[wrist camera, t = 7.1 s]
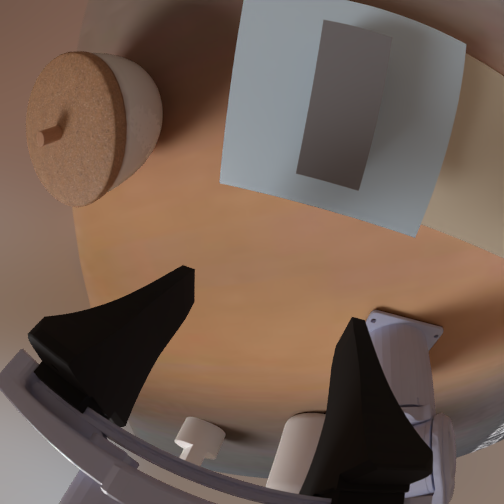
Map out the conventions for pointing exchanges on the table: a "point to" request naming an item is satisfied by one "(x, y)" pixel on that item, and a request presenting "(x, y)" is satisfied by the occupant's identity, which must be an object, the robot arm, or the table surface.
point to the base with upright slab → (199, 440)
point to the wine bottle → (295, 452)
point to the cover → (341, 108)
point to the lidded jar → (91, 124)
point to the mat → (473, 164)
